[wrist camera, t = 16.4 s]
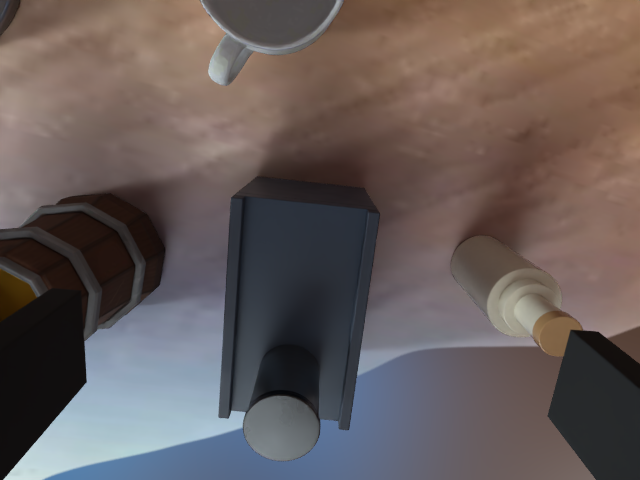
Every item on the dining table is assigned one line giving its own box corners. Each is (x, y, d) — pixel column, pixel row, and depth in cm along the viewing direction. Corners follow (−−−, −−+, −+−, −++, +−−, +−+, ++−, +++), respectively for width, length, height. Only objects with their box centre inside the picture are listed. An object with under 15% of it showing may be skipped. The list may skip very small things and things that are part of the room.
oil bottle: (456, 232, 43) (527, 291, 28) (514, 238, 43) (616, 300, 28) (445, 287, 44) (508, 371, 29) (502, 293, 44) (593, 380, 29)
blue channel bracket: (256, 176, 41) (230, 197, 30) (364, 187, 42) (380, 213, 30) (245, 342, 46) (218, 417, 34) (342, 352, 46) (349, 430, 34)
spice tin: (260, 340, 34) (245, 391, 27) (324, 346, 34) (324, 398, 27) (255, 396, 35) (240, 457, 28) (317, 402, 35) (315, 465, 28)
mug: (126, 172, 41) (19, 199, 27) (185, 286, 44) (118, 366, 30) (-18, 235, 43) (-191, 293, 29) (48, 341, 46) (-79, 443, 31)
